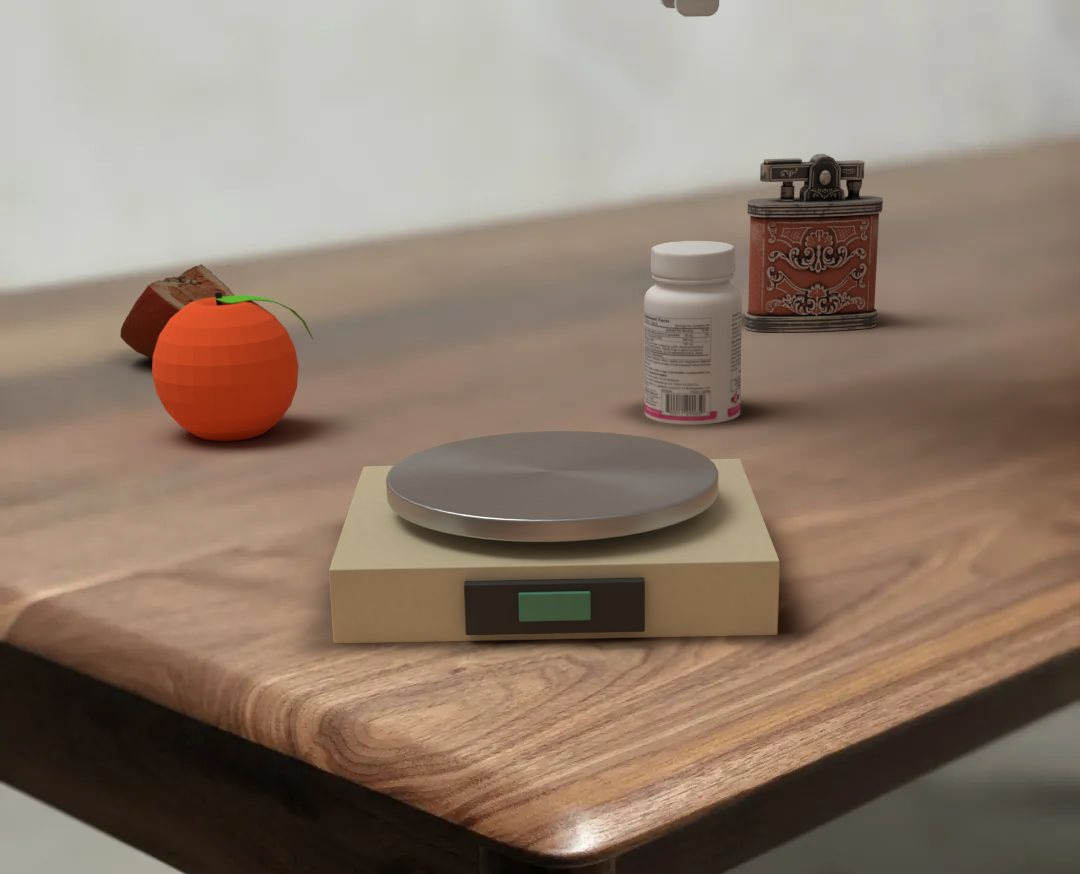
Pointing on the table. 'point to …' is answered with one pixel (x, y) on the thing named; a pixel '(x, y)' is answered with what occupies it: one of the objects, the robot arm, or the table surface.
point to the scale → (554, 577)
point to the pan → (552, 486)
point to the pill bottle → (692, 334)
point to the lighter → (813, 249)
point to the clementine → (225, 368)
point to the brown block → (167, 306)
